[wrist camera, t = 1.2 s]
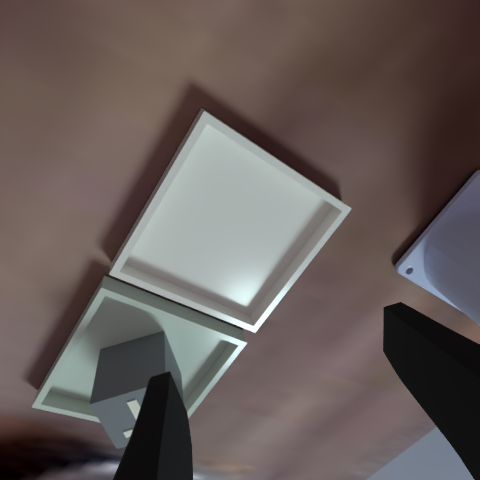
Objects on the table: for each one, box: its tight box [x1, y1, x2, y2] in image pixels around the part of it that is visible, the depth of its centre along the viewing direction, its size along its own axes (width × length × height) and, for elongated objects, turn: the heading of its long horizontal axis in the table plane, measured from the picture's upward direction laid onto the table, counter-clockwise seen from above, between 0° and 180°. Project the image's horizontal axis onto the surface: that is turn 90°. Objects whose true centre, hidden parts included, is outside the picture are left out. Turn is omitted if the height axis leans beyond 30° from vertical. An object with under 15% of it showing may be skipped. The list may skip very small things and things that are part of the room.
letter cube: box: [89, 331, 184, 449], centre depth 21 cm, size 4×4×4 cm
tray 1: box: [109, 108, 351, 333], centre depth 20 cm, size 10×10×1 cm
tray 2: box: [32, 276, 247, 423], centre depth 23 cm, size 10×10×1 cm
